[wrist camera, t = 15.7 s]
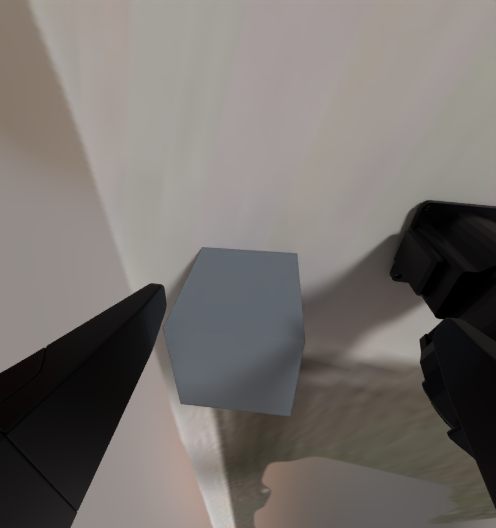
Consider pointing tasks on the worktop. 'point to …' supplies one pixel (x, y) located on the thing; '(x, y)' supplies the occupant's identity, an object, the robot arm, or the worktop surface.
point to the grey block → (238, 331)
